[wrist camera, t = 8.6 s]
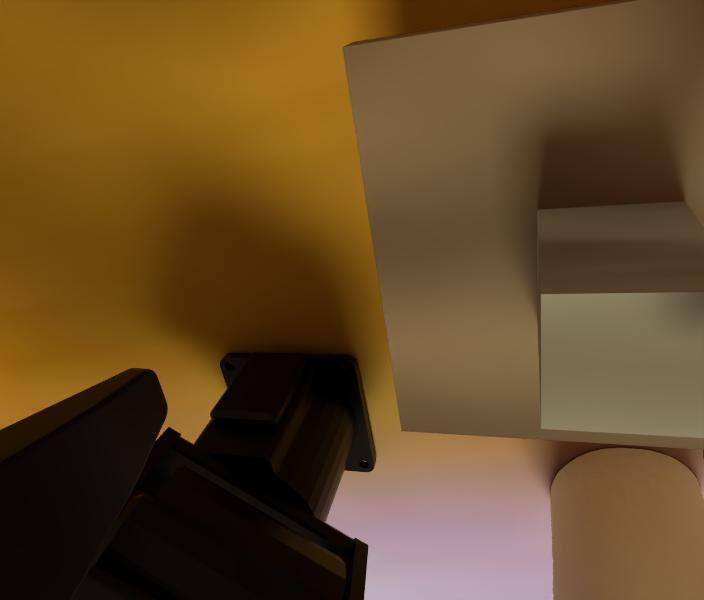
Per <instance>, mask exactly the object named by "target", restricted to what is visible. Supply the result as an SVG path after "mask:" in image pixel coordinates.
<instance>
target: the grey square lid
mask: <svg viewBox="0 0 704 600" xmlns="http://www.w3.org/2000/svg"><path fill="white" fill-rule="evenodd" d="M343 53H344V59H345V66H346V72H347V79H348V85H349V92H350V98H351V105H352V111H353V118H354V124H355V131H356V137H357V144H358V150H359V157H360V163H361V170H362V176H363V183H364V189H365V196H366V202H367V209H368V215H369V222H370V228H371V234H372V241H373V247H374V254H375V260H376V267H377V273H378V280H379V286H380V293H381V299H382V306H383V312H384V319H385V325H386V332H387V338H388V345H389V351H390V358H391V364H392V371H393V377H394V384H395V390H396V397H397V403H398V410H399V416H400V423H401V429H402V431H410V432H426V433H442V434H458V435H474V436H491V437H507V438H523V439H539V440H555V441H572V442H588V443H604V444H620V445H637V446H653V447H669V448H685V449H701V450H704V0H615V1H609V2H602V3H596V4H590V5H583V6H577V7H571V8H565V9H558V10H552V11H546V12H539V13H533V14H527V15H520V16H514V17H508V18H502V19H495V20H489V21H483V22H476V23H470V24H464V25H458V26H451V27H445V28H439V29H432V30H426V31H420V32H414V33H407V34H401V35H395V36H388V37H382V38H376V39H370V40H363V41H357V42H353V43H351V44H348V45H346V46H344V47H343Z"/></svg>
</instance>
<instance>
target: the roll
mask: <svg viewBox="0 0 704 600" xmlns="http://www.w3.org/2000/svg"><path fill="white" fill-rule="evenodd" d="M550 503H551V504H550V505H551V526H552V557H553V594H554V600H704V499H703V495H702V491H701V488H700V486H699V483H698V480H697V479H696V477H695V475H694V474H693V473H692V472H691V471H690V470H689V469H688V468H687V467H686V466H685V465H683V464H682V463H681V462H679V461H678V460H676V459H674V458H672V457H670V456H668V455H664V454H661V453H658V452H654V451H650V450H643V449H635V448H606V449H600V450H595V451H591V452H588V453H585V454H583V455H581V456H579V457H577V458H575V459H574V460H573V461H571V462H569V463H568V464H567V465H565V466H564V467H563V468H562V469H561V470H560V471H559V472H558V473H557V475H556V477H555V479H554V480H553V483H552V486H551V493H550Z"/></svg>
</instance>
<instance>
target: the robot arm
mask: <svg viewBox="0 0 704 600" xmlns="http://www.w3.org/2000/svg"><path fill="white" fill-rule="evenodd" d="M229 362H230V363H232V364H234V366H233V365H231V364H230V363H229ZM342 365H346V366H348V367H349V369H345V368H344V367H342ZM220 367H221V370H222V373H223V376H224V379H225V382H226V385H227V390H226V391H225V393H224V394H223V395H222V397H221V398H220V400H219V401H218V402H217V404H216V405H215V407H214V408H213V409H212V411H211V413H210V416H211V420H210V422H209V423H208V424H207V426H206V427H205V429H204V430H203V432H202V433H201V434H200V436H199V437H198V439H197V440H196V442H195V443H194V444H192V443H190V442H189V441H187V440H185V439H184V438H182V437H180V436H181V434H180V433H179V432H177V431H175V430H173V429H172V428H170V427H168V428H167V429H166V431H165V432H164V433H163V434H162V435H161V436H160V437H159V438H158V439H157V440H156V438H157V436H158V434H159V432H160V430H161V428H162V425H163V423H164V421H165V419H166V416H167V409H168V408H167V402H166V399H165V397H164V394H163V391H162V388H161V385H160V383H159V380H158V377H157V375H156V373H155V372H154V371H153V370H150V369H141V368H132V369H128V370H126V371H124V372H122V373H120V374H118V375H115V376H113V377H111V378H109V379H107V380H105V381H103V382H101V383H99V384H96V385H94V386H92V387H90V388H88V389H86V390H84V391H82V392H80V393H77V394H75V395H73V396H71V397H69V398H67V399H65V400H63V401H60V402H58V403H56V404H54V405H52V406H50V407H48V408H46V409H44V410H41V411H39V412H37V413H35V414H33V415H31V416H29V417H27V418H25V419H22V420H20V421H18V422H16V423H14V424H12V425H10V426H8V427H5V428H3V429H1V430H0V600H364V591H365V579H366V567H367V556H368V545H367V544H365V543H364V542H362V541H360V540H359V539H357V538H355V539H352V538H350V537H349V536H347V535H345V534H344V533H342V532H340V531H338V530H337V529H335V528H333V527H332V526H330V525H328V524H327V523H325V522H326V519H327V516H328V513H329V511H330V508H331V505H332V502H333V500H334V497H335V494H336V491H337V489H338V486H339V483H340V480H341V477H342V475H343V472H344V470H347V471H358V472H370V471H372V470H373V469H374V466H375V463H376V456H375V451H374V446H373V441H372V435H371V430H370V425H369V420H368V414H367V409H366V404H365V399H364V393H363V388H362V383H361V378H360V372H359V367H358V363H357V361H356V360H355V359H354V358H353V357H351V356H349V355H332V354H304V353H272V352H254V353H227V354H226V355H225V356H224V357H223V358H222V360H221V362H220ZM703 457H704V451H703ZM363 460H364V461H366V462H364V461H363Z"/></svg>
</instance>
